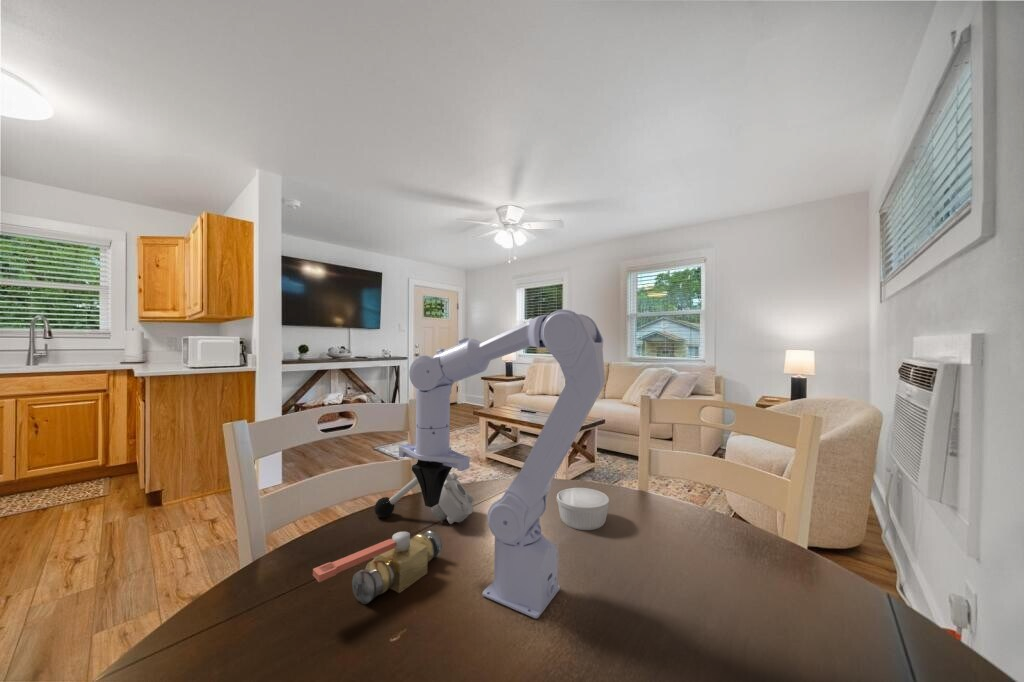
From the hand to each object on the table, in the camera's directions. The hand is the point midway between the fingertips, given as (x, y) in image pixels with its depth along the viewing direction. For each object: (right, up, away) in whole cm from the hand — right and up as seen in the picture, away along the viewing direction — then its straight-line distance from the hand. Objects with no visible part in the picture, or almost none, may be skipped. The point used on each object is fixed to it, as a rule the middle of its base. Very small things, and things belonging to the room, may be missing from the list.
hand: (432, 504), depth 65 cm
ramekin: (+29, -11, +17) cm, 36 cm away
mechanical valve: (-6, -11, +18) cm, 21 cm away
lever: (-8, -5, -8) cm, 13 cm away
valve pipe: (-4, -10, -3) cm, 12 cm away
